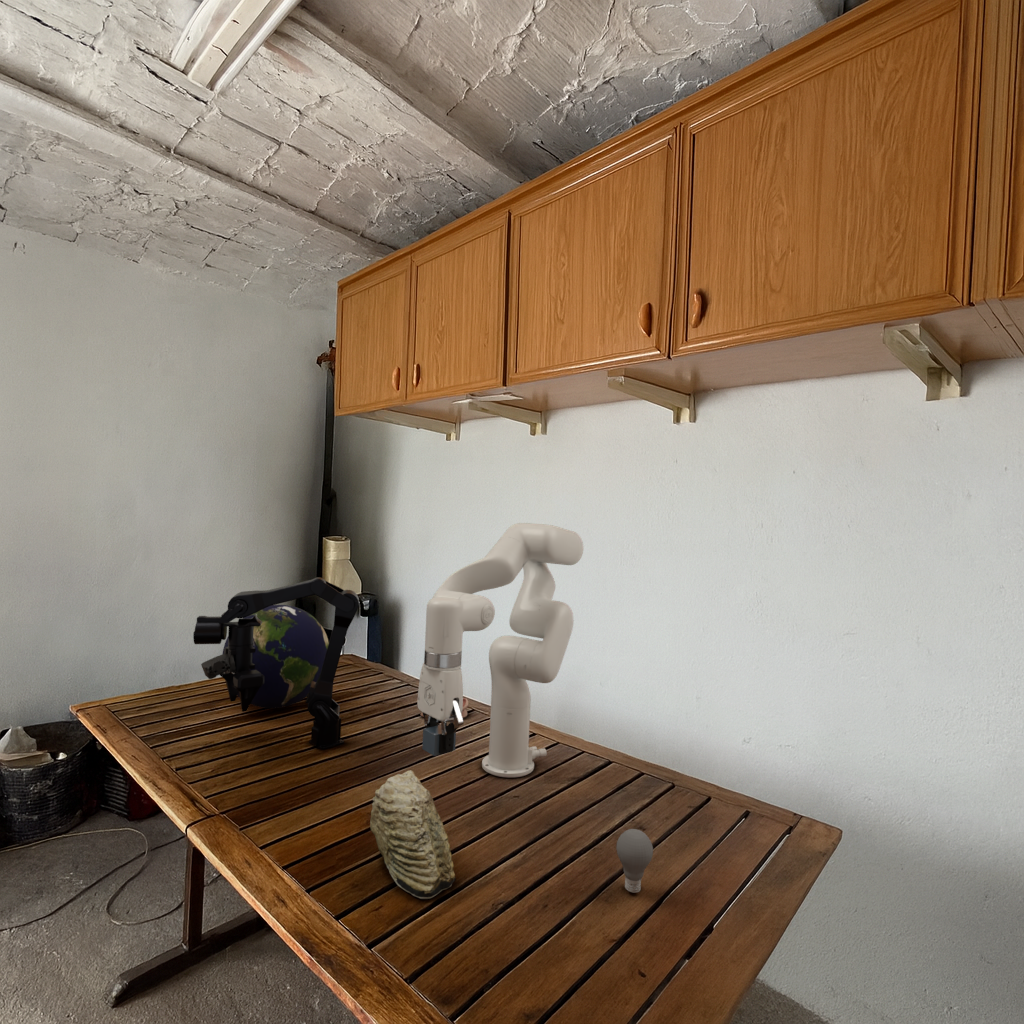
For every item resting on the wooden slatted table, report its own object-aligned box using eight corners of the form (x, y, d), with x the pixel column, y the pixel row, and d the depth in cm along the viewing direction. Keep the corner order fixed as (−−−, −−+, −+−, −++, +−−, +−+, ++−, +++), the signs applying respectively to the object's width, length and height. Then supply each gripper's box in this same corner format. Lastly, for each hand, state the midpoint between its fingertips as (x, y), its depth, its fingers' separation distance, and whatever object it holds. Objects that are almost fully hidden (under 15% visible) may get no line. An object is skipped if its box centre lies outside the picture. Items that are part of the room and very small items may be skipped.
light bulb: (610, 879, 108) (613, 822, 108) (644, 879, 109) (647, 822, 109) (619, 902, 102) (622, 840, 102) (655, 901, 103) (658, 840, 103)
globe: (289, 685, 209) (292, 594, 208) (348, 705, 191) (352, 606, 191) (199, 706, 185) (203, 604, 184) (258, 732, 167) (262, 619, 167)
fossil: (399, 838, 118) (402, 759, 118) (464, 883, 106) (468, 794, 105) (357, 856, 112) (361, 772, 112) (421, 906, 99) (425, 811, 99)
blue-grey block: (422, 749, 129) (423, 728, 128) (443, 743, 132) (443, 723, 132) (434, 756, 125) (435, 735, 125) (455, 750, 129) (456, 730, 129)
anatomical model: (416, 704, 183) (430, 693, 194) (416, 718, 183) (429, 705, 194) (461, 709, 180) (471, 697, 192) (460, 723, 180) (471, 710, 192)
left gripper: (195, 639, 159) (193, 701, 159) (216, 655, 144) (214, 723, 145) (241, 635, 166) (239, 694, 166) (266, 650, 151) (263, 714, 152)
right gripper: (404, 652, 132) (401, 739, 132) (452, 671, 120) (447, 767, 120) (434, 648, 137) (431, 732, 137) (483, 665, 125) (479, 758, 125)
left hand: (238, 706), depth 157 cm, fingers open, 9 cm apart
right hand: (438, 747), depth 129 cm, fingers closed on blue-grey block, 4 cm apart
